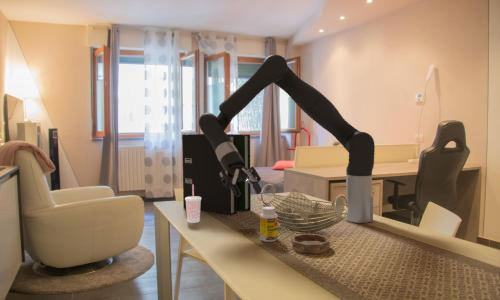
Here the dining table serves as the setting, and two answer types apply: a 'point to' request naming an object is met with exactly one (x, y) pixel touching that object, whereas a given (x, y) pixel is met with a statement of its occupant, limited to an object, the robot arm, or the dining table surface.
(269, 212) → the supplement bottle
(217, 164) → the binder
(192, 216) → the beverage cup
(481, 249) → the dining table surface
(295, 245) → the collar dish
